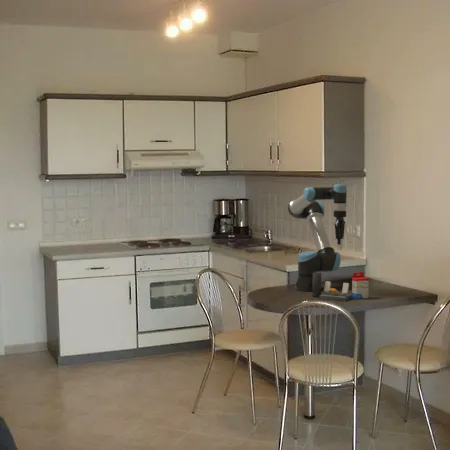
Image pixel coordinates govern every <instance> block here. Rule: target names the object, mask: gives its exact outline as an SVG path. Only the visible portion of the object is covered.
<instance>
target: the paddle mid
mask: <svg viewBox="0 0 450 450" xmlns="http://www.w3.org/2000/svg"><path fill="white" fill-rule="evenodd" d="M330 293H333V294H340V292H339V291H338V289H336V288H333V287H330Z"/></svg>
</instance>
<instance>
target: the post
mask: <svg viewBox="0 0 450 450" xmlns="http://www.w3.org/2000/svg"><path fill="white" fill-rule="evenodd" d="M321 294H322V272H315V273H313V291H312V298H318V299H319V295H321Z"/></svg>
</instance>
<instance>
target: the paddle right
mask: <svg viewBox="0 0 450 450" xmlns="http://www.w3.org/2000/svg"><path fill="white" fill-rule="evenodd" d="M349 287H350V283H348V282H343V284H342V290H341V294H342V295H348V294H349V289H350V288H349Z"/></svg>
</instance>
